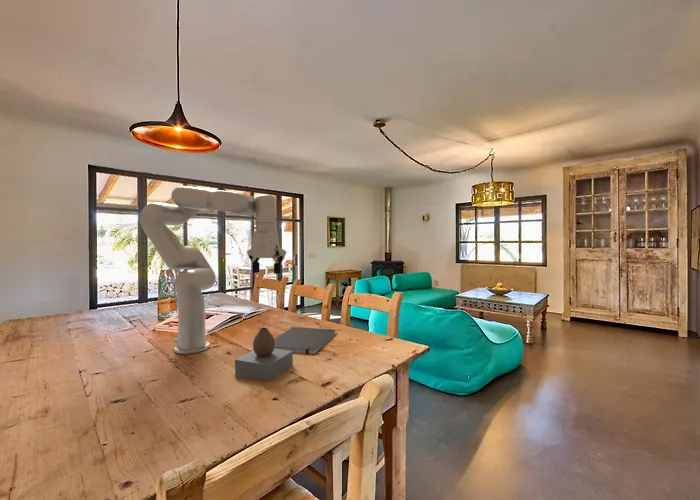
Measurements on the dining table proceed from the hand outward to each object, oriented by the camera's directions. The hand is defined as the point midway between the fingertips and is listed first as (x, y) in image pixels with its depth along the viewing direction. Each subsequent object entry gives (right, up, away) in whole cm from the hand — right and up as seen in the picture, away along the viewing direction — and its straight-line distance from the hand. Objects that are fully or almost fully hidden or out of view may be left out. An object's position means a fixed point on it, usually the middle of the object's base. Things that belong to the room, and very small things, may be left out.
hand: (266, 273), depth 120 cm
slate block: (+4, -31, -17) cm, 35 cm away
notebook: (+12, -31, +14) cm, 35 cm away
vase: (+4, -26, -17) cm, 31 cm away
